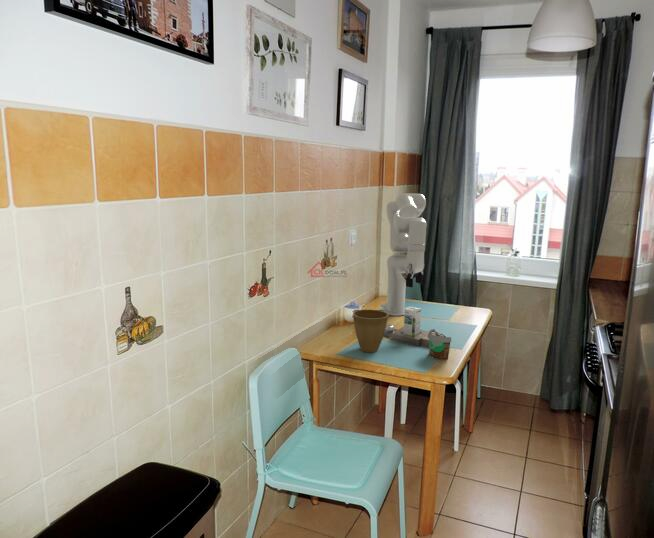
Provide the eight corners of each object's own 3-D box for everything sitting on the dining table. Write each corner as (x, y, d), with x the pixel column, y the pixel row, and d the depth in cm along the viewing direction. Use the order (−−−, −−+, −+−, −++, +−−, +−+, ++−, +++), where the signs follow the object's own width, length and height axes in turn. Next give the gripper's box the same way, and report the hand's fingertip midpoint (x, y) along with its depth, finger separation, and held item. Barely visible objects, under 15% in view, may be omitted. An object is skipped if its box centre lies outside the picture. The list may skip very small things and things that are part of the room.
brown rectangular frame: (390, 339, 236) (391, 331, 235) (404, 332, 247) (404, 324, 246) (433, 349, 224) (433, 340, 224) (445, 341, 235) (446, 333, 235)
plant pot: (393, 350, 223) (395, 314, 220) (370, 358, 213) (372, 320, 210) (367, 341, 233) (369, 306, 230) (344, 348, 223) (345, 312, 220)
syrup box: (402, 338, 238) (404, 308, 235) (409, 335, 242) (410, 305, 239) (413, 341, 234) (414, 310, 231) (419, 338, 239) (421, 308, 236)
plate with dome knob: (377, 336, 240) (377, 328, 239) (390, 329, 251) (391, 321, 250) (417, 346, 229) (418, 337, 228) (430, 338, 239) (431, 329, 239)
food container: (420, 352, 221) (421, 330, 219) (432, 350, 223) (434, 328, 221) (437, 362, 210) (439, 339, 208) (450, 360, 212) (451, 337, 210)
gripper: (417, 244, 239) (415, 280, 243) (399, 248, 225) (397, 287, 229) (432, 246, 235) (429, 282, 239) (415, 250, 221) (413, 289, 225)
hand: (414, 284), depth 234 cm, fingers open, 9 cm apart
